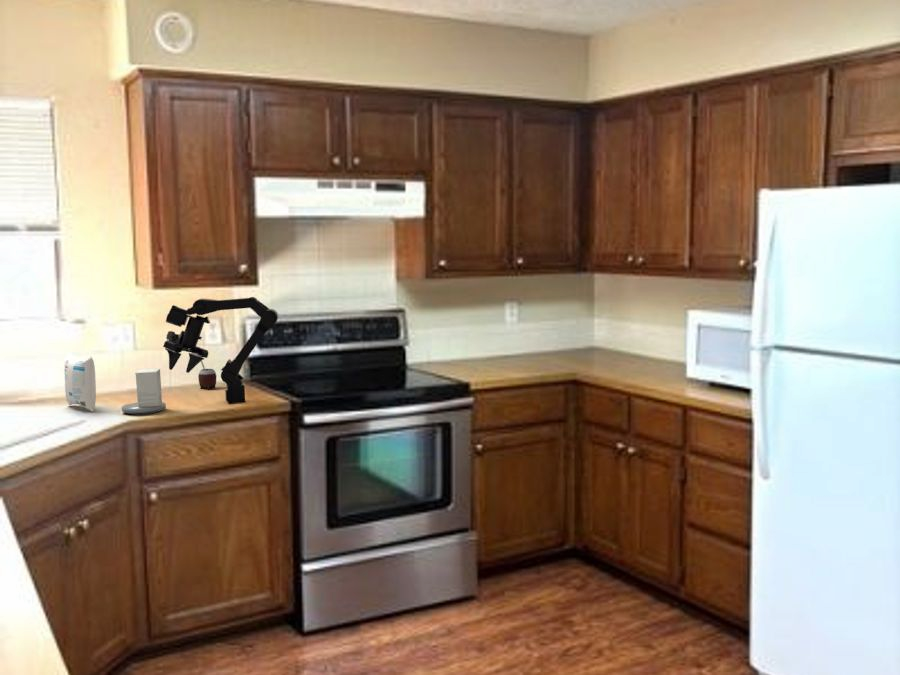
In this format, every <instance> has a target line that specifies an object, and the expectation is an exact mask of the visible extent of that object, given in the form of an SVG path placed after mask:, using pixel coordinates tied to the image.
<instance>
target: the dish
mask: <svg viewBox="0 0 900 675" xmlns="http://www.w3.org/2000/svg"><path fill="white" fill-rule="evenodd" d="M166 408H167V404H166V402H163V401H162V403H161V404H160V405H159V406H154V407H138V401H137V402H131V403H127V404H124V405H122V406H121V411H122V412H123V413H127V414H130V415H150V414H155V413H159V411H163V410H165V409H166Z"/></svg>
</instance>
